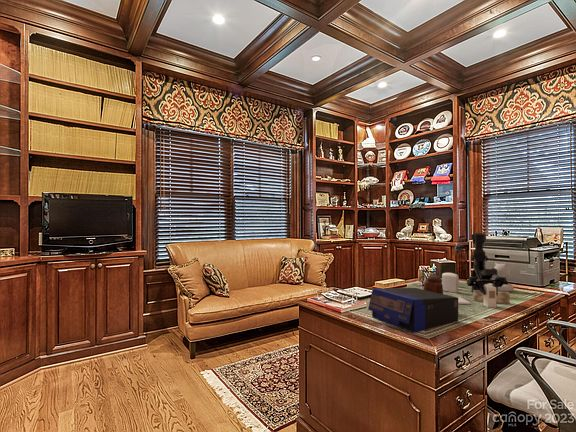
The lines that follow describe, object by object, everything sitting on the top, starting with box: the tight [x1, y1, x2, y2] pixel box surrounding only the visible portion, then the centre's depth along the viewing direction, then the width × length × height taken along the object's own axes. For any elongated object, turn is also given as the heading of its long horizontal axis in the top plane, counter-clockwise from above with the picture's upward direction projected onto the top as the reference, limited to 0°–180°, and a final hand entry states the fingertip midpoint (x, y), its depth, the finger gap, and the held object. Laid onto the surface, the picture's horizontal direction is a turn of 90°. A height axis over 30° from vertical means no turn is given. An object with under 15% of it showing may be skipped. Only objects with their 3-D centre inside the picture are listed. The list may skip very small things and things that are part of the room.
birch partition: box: [473, 290, 511, 304], centre depth 185 cm, size 18×2×6 cm, turn 71°
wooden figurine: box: [423, 274, 444, 294], centre depth 171 cm, size 12×6×18 cm, turn 32°
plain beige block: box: [483, 284, 497, 308], centre depth 176 cm, size 4×5×11 cm
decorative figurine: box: [487, 261, 515, 293], centre depth 215 cm, size 15×15×20 cm
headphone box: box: [367, 287, 459, 334], centre depth 153 cm, size 25×35×14 cm
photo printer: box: [441, 272, 460, 294], centre depth 210 cm, size 10×4×12 cm, turn 39°
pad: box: [456, 296, 472, 305], centre depth 186 cm, size 12×12×1 cm
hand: (491, 294), depth 175 cm, fingers open, 6 cm apart
